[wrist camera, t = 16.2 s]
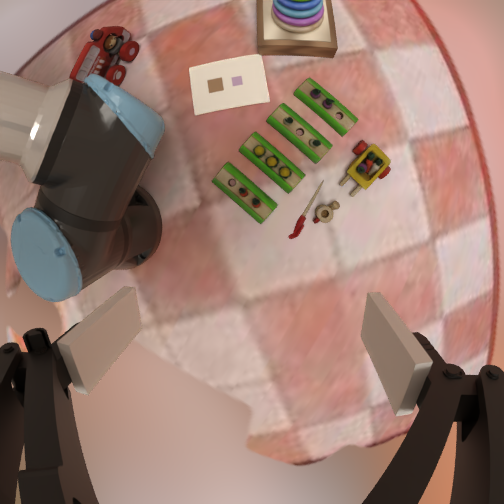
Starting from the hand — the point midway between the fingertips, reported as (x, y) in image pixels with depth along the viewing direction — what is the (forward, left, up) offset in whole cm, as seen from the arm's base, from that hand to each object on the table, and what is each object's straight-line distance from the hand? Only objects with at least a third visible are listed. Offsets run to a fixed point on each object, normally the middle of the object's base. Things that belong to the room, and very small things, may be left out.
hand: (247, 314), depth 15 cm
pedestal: (+5, +34, -31) cm, 46 cm away
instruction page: (-6, +23, -31) cm, 39 cm away
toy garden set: (+6, +9, -31) cm, 33 cm away
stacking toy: (+5, +34, -27) cm, 43 cm away
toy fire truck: (-27, +31, -31) cm, 51 cm away
